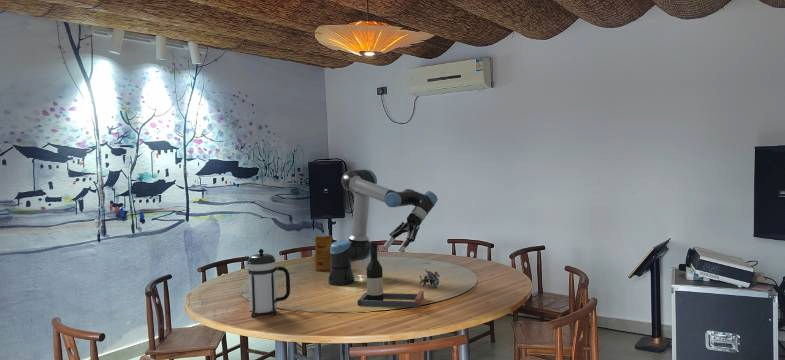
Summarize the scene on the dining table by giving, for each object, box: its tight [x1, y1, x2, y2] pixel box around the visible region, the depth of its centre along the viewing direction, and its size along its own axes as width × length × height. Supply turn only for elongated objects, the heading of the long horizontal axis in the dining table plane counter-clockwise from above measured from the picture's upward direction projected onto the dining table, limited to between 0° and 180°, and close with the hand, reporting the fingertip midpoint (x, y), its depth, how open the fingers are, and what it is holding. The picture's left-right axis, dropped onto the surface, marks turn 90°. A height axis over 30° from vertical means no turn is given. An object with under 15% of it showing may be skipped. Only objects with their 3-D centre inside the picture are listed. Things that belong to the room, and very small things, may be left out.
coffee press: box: [243, 248, 291, 318], centre depth 247 cm, size 17×16×30 cm
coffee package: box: [313, 235, 333, 272], centre depth 342 cm, size 10×12×22 cm
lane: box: [357, 290, 425, 308], centre depth 259 cm, size 30×15×4 cm, turn 79°
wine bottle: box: [366, 240, 384, 301], centre depth 260 cm, size 8×8×30 cm
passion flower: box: [419, 269, 441, 289], centre depth 287 cm, size 11×11×12 cm
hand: (392, 249), depth 265 cm, fingers open, 13 cm apart
